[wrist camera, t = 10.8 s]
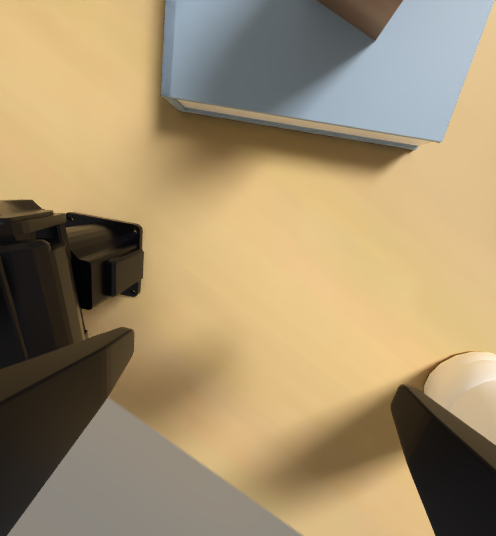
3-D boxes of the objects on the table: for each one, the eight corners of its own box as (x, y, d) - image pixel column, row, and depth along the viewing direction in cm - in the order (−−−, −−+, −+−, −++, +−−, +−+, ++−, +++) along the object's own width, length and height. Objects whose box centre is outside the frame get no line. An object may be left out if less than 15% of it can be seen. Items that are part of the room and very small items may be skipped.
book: (178, 110, 18) (160, 95, 15) (195, -124, 14) (176, -203, 11) (413, 150, 17) (442, 141, 14) (493, -85, 14) (553, -159, 11)
